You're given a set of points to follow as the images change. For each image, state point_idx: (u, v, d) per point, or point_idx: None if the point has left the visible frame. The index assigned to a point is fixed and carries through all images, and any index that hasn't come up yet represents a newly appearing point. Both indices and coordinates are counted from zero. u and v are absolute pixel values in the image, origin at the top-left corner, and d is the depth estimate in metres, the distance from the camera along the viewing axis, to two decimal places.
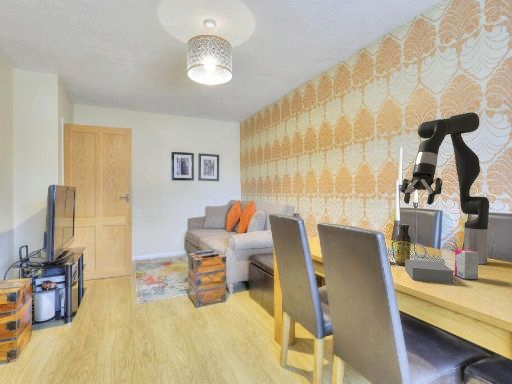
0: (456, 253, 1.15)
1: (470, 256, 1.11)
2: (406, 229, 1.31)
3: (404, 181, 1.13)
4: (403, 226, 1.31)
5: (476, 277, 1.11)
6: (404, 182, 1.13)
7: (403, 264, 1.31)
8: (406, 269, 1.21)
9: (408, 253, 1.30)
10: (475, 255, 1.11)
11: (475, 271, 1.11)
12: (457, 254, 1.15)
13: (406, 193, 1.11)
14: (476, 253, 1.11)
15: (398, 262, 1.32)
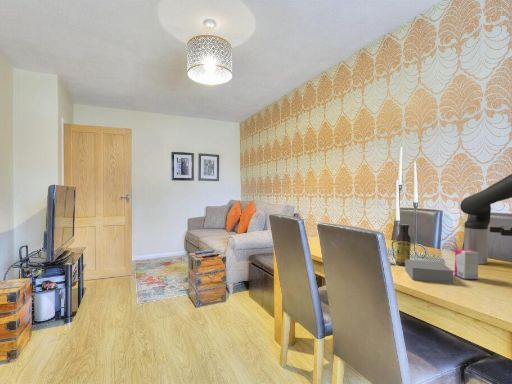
0: (456, 253, 1.15)
1: (470, 256, 1.11)
2: (406, 229, 1.31)
3: None
4: (403, 226, 1.31)
5: (476, 277, 1.11)
6: None
7: (403, 264, 1.31)
8: (406, 269, 1.21)
9: (408, 253, 1.30)
10: (475, 255, 1.11)
11: (475, 271, 1.11)
12: (456, 254, 1.15)
13: None
14: (476, 253, 1.11)
15: (398, 262, 1.32)
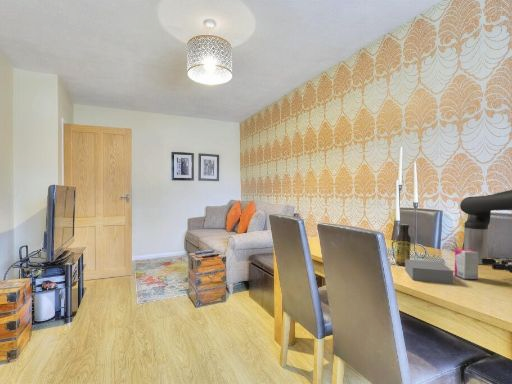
0: (456, 253, 1.15)
1: (470, 256, 1.11)
2: (406, 229, 1.31)
3: None
4: (403, 226, 1.31)
5: (476, 277, 1.11)
6: None
7: (403, 264, 1.31)
8: (406, 269, 1.21)
9: (408, 253, 1.30)
10: (475, 255, 1.11)
11: (475, 271, 1.11)
12: (456, 254, 1.15)
13: (504, 269, 1.06)
14: (476, 253, 1.11)
15: (398, 262, 1.32)
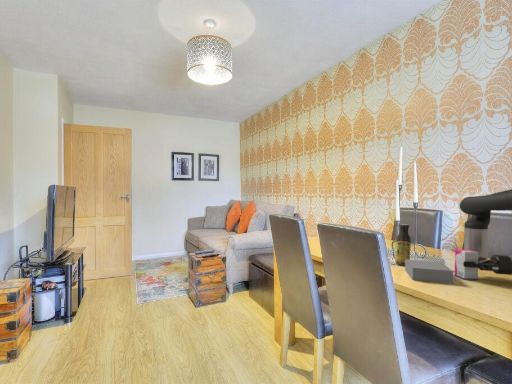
0: (456, 253, 1.15)
1: (470, 256, 1.11)
2: (406, 229, 1.31)
3: None
4: (403, 226, 1.31)
5: (476, 277, 1.11)
6: None
7: (403, 264, 1.31)
8: (406, 269, 1.21)
9: (408, 253, 1.30)
10: (475, 255, 1.11)
11: (475, 271, 1.11)
12: (456, 254, 1.15)
13: (475, 267, 1.09)
14: (476, 253, 1.11)
15: (398, 262, 1.32)
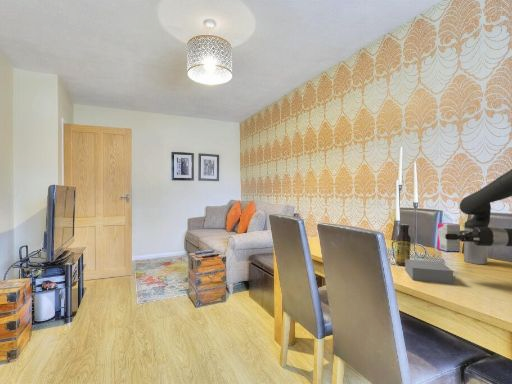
0: (438, 226, 1.16)
1: (452, 229, 1.11)
2: (406, 229, 1.31)
3: (475, 241, 1.06)
4: (403, 226, 1.31)
5: (458, 249, 1.11)
6: (473, 241, 1.06)
7: (403, 264, 1.31)
8: (406, 269, 1.21)
9: (408, 253, 1.30)
10: (457, 227, 1.11)
11: (457, 243, 1.11)
12: (439, 227, 1.15)
13: (457, 239, 1.09)
14: (458, 225, 1.11)
15: (398, 262, 1.32)
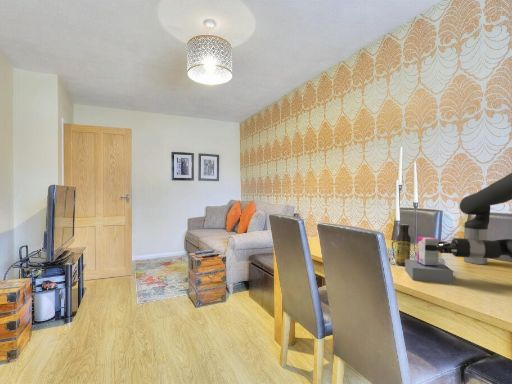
0: (418, 240, 1.17)
1: (430, 243, 1.13)
2: (406, 229, 1.31)
3: None
4: (403, 226, 1.31)
5: (436, 263, 1.13)
6: None
7: (403, 264, 1.31)
8: (406, 269, 1.21)
9: (408, 253, 1.30)
10: (435, 242, 1.13)
11: (435, 257, 1.13)
12: (419, 241, 1.17)
13: (436, 250, 1.10)
14: (436, 240, 1.13)
15: (398, 262, 1.32)
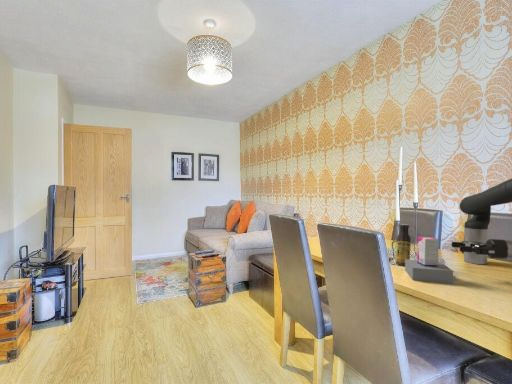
0: (418, 240, 1.17)
1: (430, 243, 1.13)
2: (406, 229, 1.31)
3: (490, 254, 1.04)
4: (403, 226, 1.31)
5: (436, 263, 1.13)
6: None
7: (403, 264, 1.31)
8: (406, 269, 1.21)
9: (408, 253, 1.30)
10: (435, 242, 1.13)
11: (435, 257, 1.13)
12: (419, 241, 1.17)
13: (471, 251, 1.07)
14: (436, 240, 1.13)
15: (398, 262, 1.32)
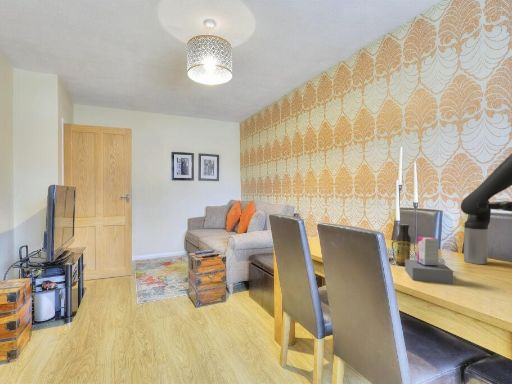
0: (418, 240, 1.17)
1: (430, 243, 1.13)
2: (406, 229, 1.31)
3: None
4: (403, 226, 1.31)
5: (436, 263, 1.13)
6: None
7: (403, 264, 1.31)
8: (406, 269, 1.21)
9: (408, 253, 1.30)
10: (435, 242, 1.13)
11: (435, 257, 1.13)
12: (419, 241, 1.17)
13: (499, 208, 1.09)
14: (436, 240, 1.13)
15: (398, 262, 1.32)
